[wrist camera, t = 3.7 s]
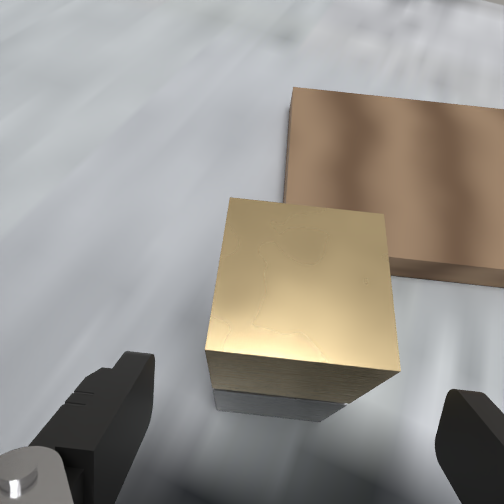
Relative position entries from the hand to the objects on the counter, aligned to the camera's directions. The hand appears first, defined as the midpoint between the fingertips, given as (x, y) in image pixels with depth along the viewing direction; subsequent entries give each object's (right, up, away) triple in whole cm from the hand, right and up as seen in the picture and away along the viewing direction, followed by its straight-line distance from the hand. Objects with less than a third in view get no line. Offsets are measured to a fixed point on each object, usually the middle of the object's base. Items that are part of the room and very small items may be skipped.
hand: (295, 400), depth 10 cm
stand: (+11, +8, +16) cm, 21 cm away
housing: (0, -2, +9) cm, 9 cm away
